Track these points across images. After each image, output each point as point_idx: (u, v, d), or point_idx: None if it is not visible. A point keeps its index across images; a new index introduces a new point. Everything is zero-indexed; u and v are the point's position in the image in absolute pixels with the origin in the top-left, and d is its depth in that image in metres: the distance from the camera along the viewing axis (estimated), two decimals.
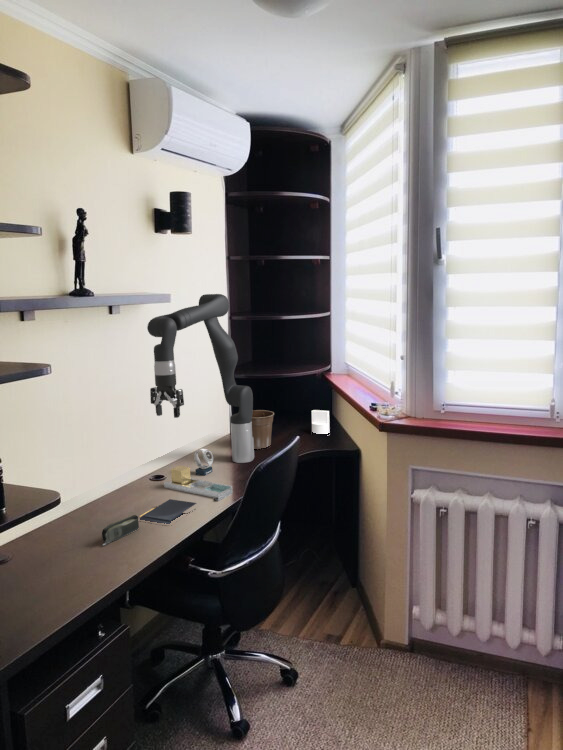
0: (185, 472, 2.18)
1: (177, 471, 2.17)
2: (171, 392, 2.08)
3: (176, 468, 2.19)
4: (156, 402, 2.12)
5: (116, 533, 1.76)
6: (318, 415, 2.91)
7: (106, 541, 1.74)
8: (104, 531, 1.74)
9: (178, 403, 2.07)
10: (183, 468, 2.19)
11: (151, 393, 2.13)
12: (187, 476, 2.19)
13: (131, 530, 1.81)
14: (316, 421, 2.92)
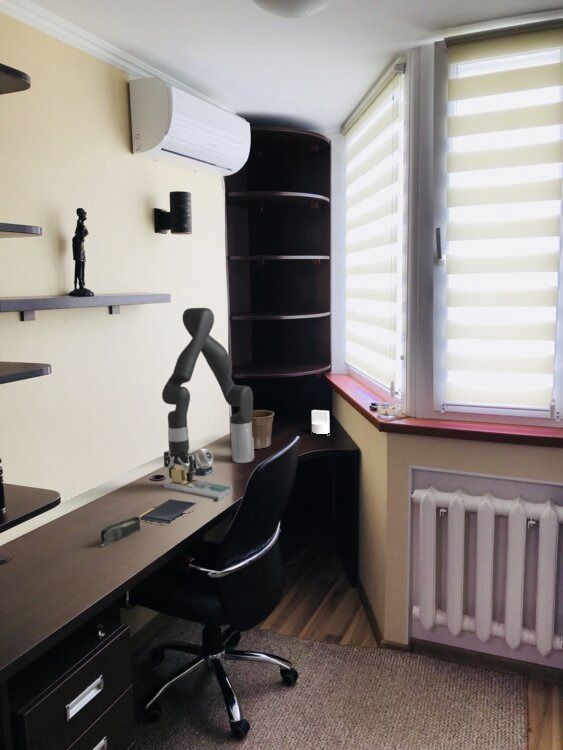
0: (185, 472, 2.18)
1: (177, 471, 2.17)
2: (184, 457, 2.16)
3: (176, 468, 2.19)
4: (169, 466, 2.20)
5: (115, 535, 1.75)
6: (318, 415, 2.91)
7: (105, 542, 1.73)
8: (102, 532, 1.73)
9: (191, 468, 2.15)
10: (183, 468, 2.19)
11: (165, 457, 2.21)
12: None
13: (131, 532, 1.80)
14: (316, 421, 2.92)
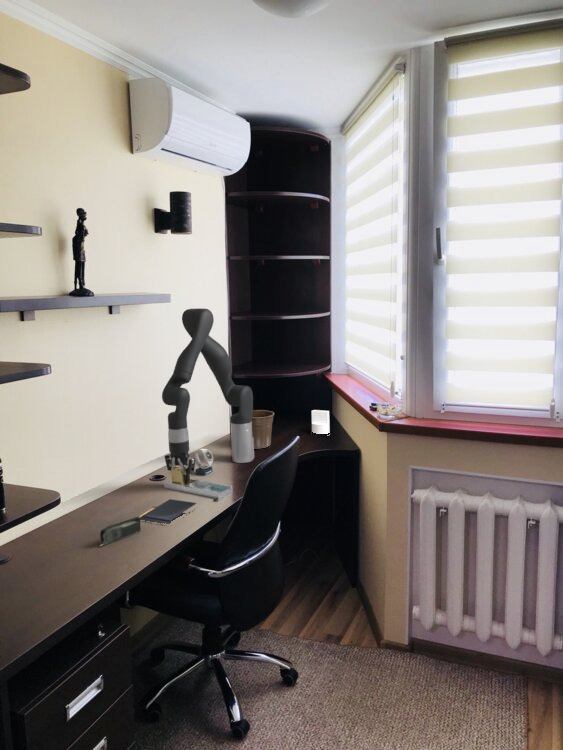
0: None
1: (177, 471, 2.17)
2: (184, 460, 2.16)
3: (176, 468, 2.19)
4: None
5: (114, 535, 1.75)
6: (318, 415, 2.91)
7: (104, 542, 1.73)
8: (102, 532, 1.73)
9: (188, 471, 2.16)
10: None
11: (166, 460, 2.21)
12: None
13: (132, 532, 1.80)
14: (316, 421, 2.92)
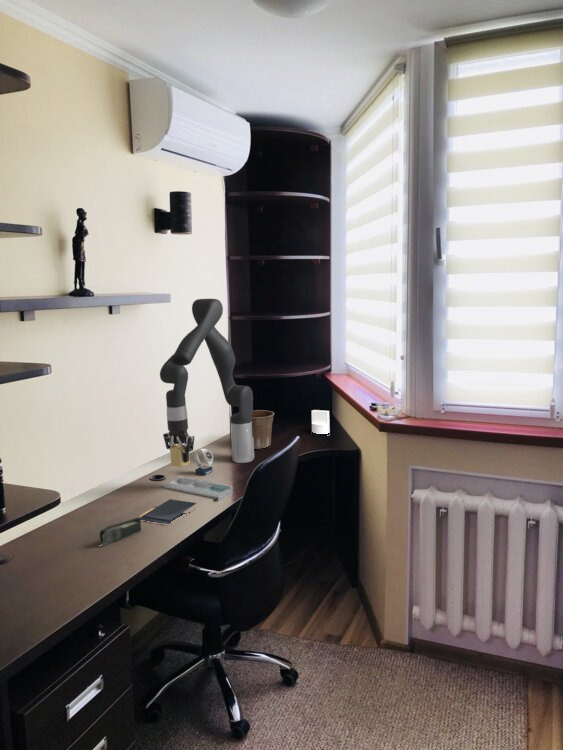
0: None
1: (176, 449, 2.16)
2: (183, 438, 2.15)
3: (175, 447, 2.18)
4: None
5: (114, 535, 1.75)
6: (318, 415, 2.91)
7: (103, 542, 1.73)
8: (101, 532, 1.73)
9: (187, 449, 2.15)
10: None
11: (165, 439, 2.20)
12: None
13: (132, 533, 1.79)
14: (316, 421, 2.92)
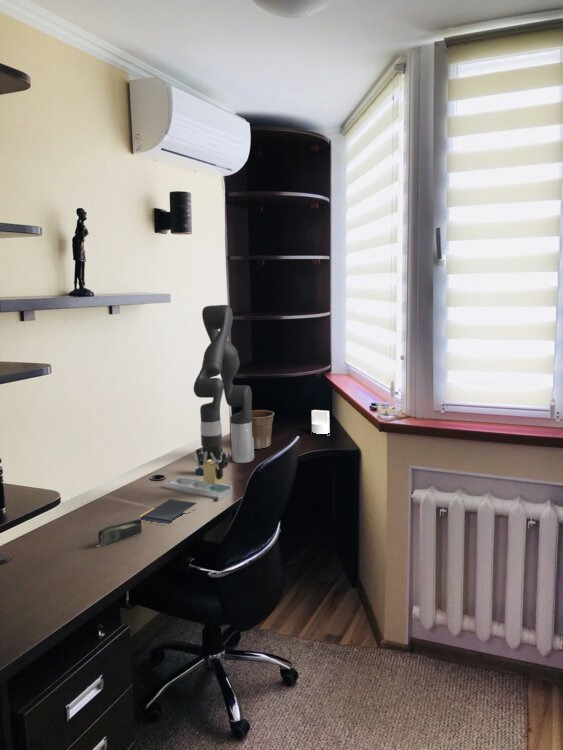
0: None
1: (209, 465, 2.08)
2: (218, 454, 2.07)
3: (208, 463, 2.10)
4: None
5: (112, 536, 1.74)
6: (318, 415, 2.91)
7: (101, 543, 1.73)
8: (99, 533, 1.73)
9: (222, 465, 2.07)
10: None
11: (197, 454, 2.12)
12: None
13: (131, 534, 1.78)
14: (316, 421, 2.92)
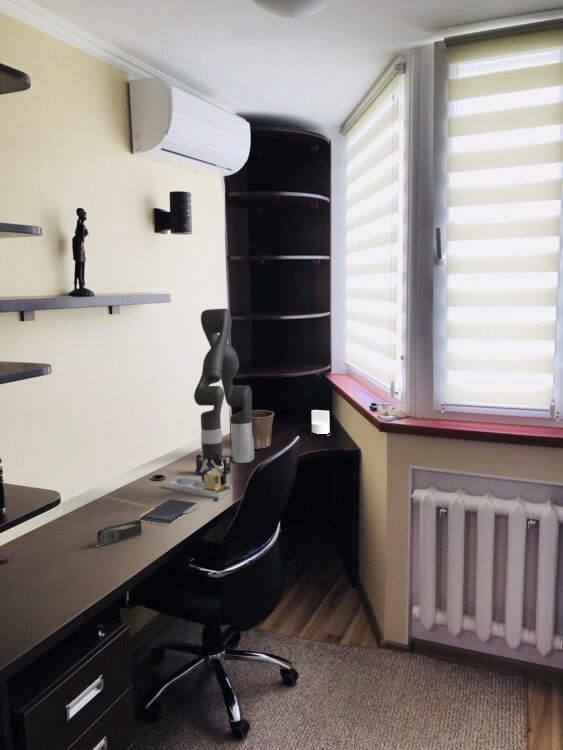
0: (219, 477, 2.10)
1: (210, 476, 2.09)
2: (218, 460, 2.07)
3: (209, 474, 2.11)
4: (202, 469, 2.12)
5: (111, 536, 1.74)
6: (318, 415, 2.91)
7: (100, 543, 1.73)
8: (98, 533, 1.73)
9: (225, 472, 2.06)
10: (216, 474, 2.11)
11: (197, 460, 2.13)
12: None
13: (131, 535, 1.78)
14: (316, 421, 2.92)
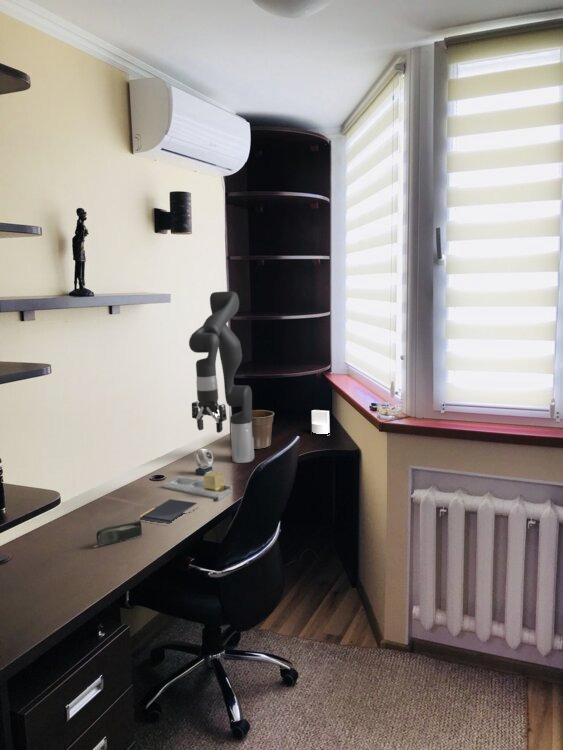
0: (219, 477, 2.10)
1: (210, 476, 2.09)
2: (214, 407, 2.08)
3: (209, 474, 2.11)
4: (198, 417, 2.13)
5: (110, 537, 1.74)
6: (318, 415, 2.91)
7: (98, 543, 1.73)
8: (97, 533, 1.73)
9: (221, 418, 2.07)
10: (216, 474, 2.11)
11: (192, 408, 2.13)
12: (220, 482, 2.11)
13: (130, 536, 1.77)
14: (316, 421, 2.92)
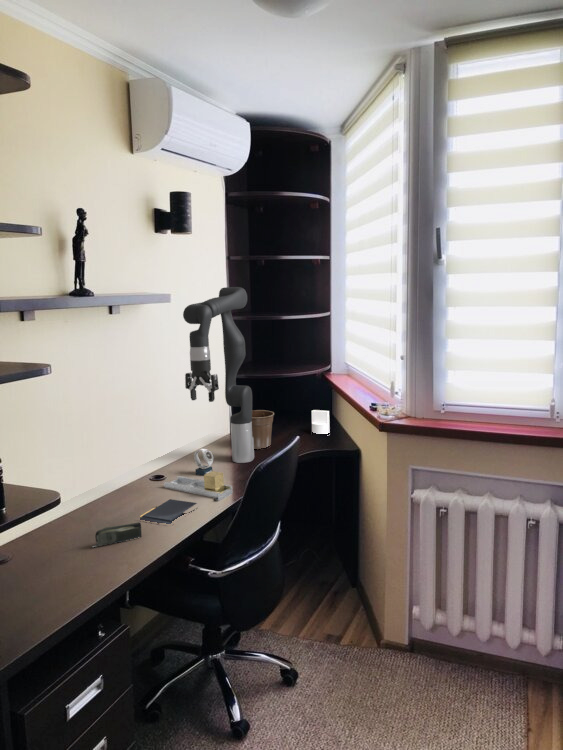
0: (219, 477, 2.10)
1: (210, 476, 2.09)
2: (206, 377, 2.15)
3: (209, 474, 2.11)
4: (191, 387, 2.20)
5: (109, 538, 1.73)
6: (318, 415, 2.91)
7: (97, 543, 1.72)
8: (96, 533, 1.73)
9: (213, 387, 2.14)
10: (216, 474, 2.11)
11: (186, 378, 2.20)
12: (220, 482, 2.11)
13: (129, 537, 1.76)
14: (316, 421, 2.92)
